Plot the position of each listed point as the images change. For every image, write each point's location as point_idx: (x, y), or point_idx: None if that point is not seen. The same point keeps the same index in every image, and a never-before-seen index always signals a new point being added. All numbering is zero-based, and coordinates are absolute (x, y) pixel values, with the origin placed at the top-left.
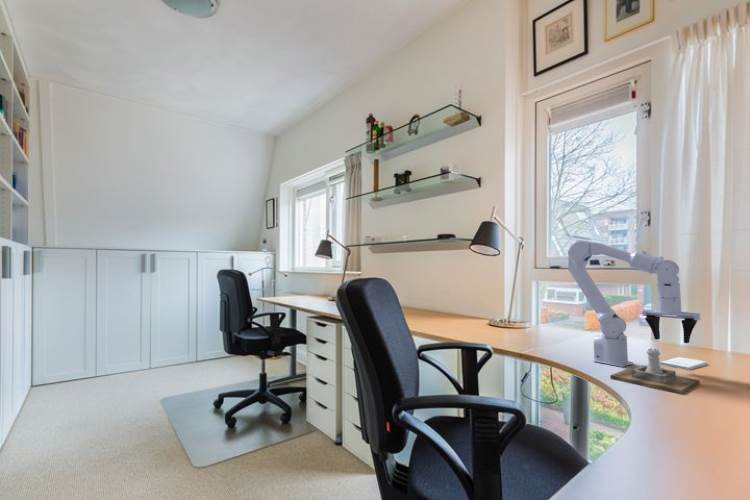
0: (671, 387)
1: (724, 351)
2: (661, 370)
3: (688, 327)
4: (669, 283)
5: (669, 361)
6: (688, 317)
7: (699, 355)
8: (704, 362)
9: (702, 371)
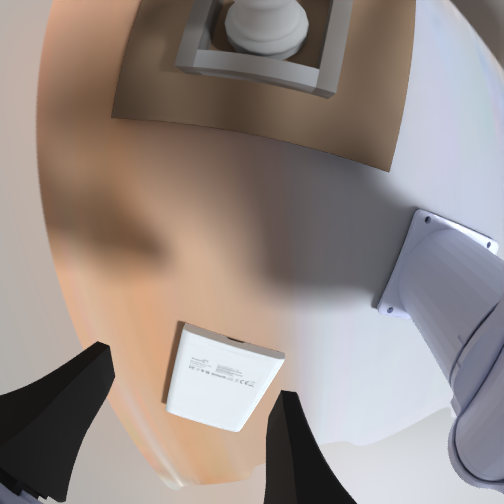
0: None
1: (182, 480)
2: (232, 24)
3: (2, 398)
4: None
5: (252, 380)
6: (1, 487)
7: (207, 460)
8: (167, 404)
9: (149, 327)
